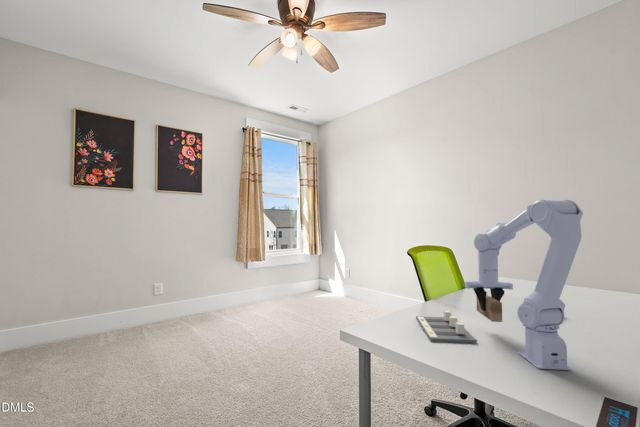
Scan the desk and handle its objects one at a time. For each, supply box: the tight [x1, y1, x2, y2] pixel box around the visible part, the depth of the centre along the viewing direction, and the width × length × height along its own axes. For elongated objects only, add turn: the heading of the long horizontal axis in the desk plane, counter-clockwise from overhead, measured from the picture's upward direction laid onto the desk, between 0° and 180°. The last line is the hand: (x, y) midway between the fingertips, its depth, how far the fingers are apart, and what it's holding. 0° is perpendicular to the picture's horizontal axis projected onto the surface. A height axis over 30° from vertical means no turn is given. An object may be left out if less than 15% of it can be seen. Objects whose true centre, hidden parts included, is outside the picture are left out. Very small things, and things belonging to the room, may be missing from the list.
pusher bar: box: [475, 294, 503, 323], centre depth 100 cm, size 12×3×6 cm, turn 173°
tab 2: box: [449, 315, 458, 327], centre depth 104 cm, size 2×2×3 cm
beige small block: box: [456, 321, 465, 334], centre depth 98 cm, size 2×2×3 cm
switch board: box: [415, 315, 478, 344], centre depth 105 cm, size 22×14×1 cm, turn 173°
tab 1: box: [443, 310, 452, 321], centre depth 111 cm, size 2×2×3 cm
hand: (488, 310), depth 100 cm, fingers closed on pusher bar, 3 cm apart
